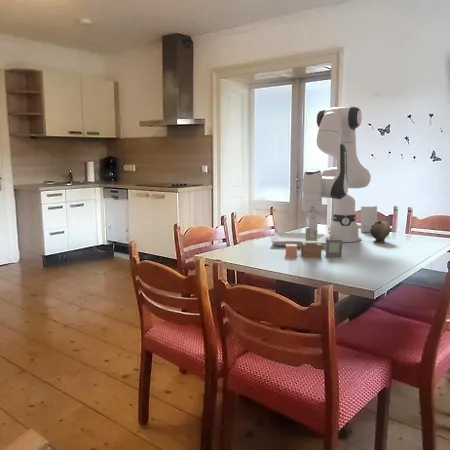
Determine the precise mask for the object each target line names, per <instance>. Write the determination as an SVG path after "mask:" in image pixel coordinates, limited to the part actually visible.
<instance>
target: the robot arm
mask: <svg viewBox="0 0 450 450" xmlns="http://www.w3.org/2000/svg"><path fill="white" fill-rule="evenodd" d="M362 119H363V116H362V111H361V109H360V107H357V106H338V107H331V108H323V109H320V110H319V111H318V113H317V115H316V125H317V127H318V130H317V134H316V135H317V137H316V145H317V148H318V149H319V150H320V151H321V152H322V153H324V154H326V155H328V156H331V157H333V158H335V160H336V167H333V166H332V167H328V168H325V169H324V170H323V171H321V170H320V169H309V170H306V171H305V172H304V173H303V177H302V184H301V185H302V186H301V187H302V190H301V191H302V197H301V198H302V199H301V210H302V211H304V214H305V222H306V225H307V228H309V229H310V238H314V232H315V230H316V229H317V230H318V215H319V213H320V211H322V210H323V199H324V198H325V199H326V198H328V199H332V200H333V201H332V202H333V213H332V223H330V225H329V226H328V228H327V231H328V234H326V239H330V240H342V243H352V242H358V241H363V240H362V237H359V224H358V223H357V222H356V220H357V215H356V200H355V198H354V197H353V196H352V195H350V194H348V193H349V192H348V191H349V189H362V188H367V187H368V186H369V184H370V183H371V179H372V178H371V177H372V176H371V173H370V171H369V169H367V168H366V167H364V165H362V163H361V162H360V161H359V157H358V155H357V138H356V137H357V136H356V129H357V128H359V127H360V125H361V124H362Z"/></svg>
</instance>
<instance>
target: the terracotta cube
mask: <svg viewBox="0 0 450 450" xmlns="http://www.w3.org/2000/svg"><path fill="white" fill-rule="evenodd" d="M285 257H286V258H287V257H289V258H297V257H298V247H297V244H286V247H285Z"/></svg>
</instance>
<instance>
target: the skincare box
mask: <svg viewBox="0 0 450 450" xmlns="http://www.w3.org/2000/svg"><path fill="white" fill-rule="evenodd" d="M377 221H378V206H377V205H362V206H360V232H361V233H369V234H371V233H370V230H371V228H372V227H371V226H372V225H374V224H375V222H377Z"/></svg>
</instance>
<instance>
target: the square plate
mask: <svg viewBox="0 0 450 450" xmlns="http://www.w3.org/2000/svg"><path fill="white" fill-rule="evenodd" d="M305 234H306V232H275V234H274V235H273V238H272V239H271V241H270V242H271V243H272V244H274V245H275V246H277V247H285V248H286V244H297V248H301V242H319V243H320V244H321V245H322V247H324V246H326V237H327V234H324V233H317V241H306V239H305Z"/></svg>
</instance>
